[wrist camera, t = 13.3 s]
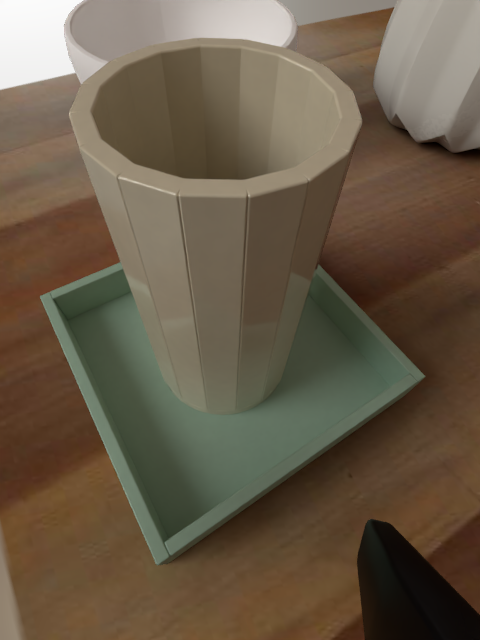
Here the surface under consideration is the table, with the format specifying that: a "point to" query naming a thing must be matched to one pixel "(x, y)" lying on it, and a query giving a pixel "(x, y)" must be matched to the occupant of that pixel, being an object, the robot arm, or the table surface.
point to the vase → (432, 71)
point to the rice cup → (218, 201)
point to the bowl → (169, 26)
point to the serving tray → (210, 429)
